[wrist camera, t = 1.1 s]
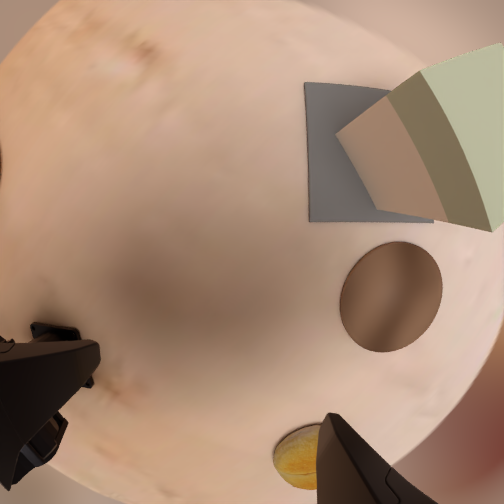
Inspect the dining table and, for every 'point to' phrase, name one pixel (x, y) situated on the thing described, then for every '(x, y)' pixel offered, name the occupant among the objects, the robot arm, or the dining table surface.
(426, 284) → the disc
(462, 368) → the dining table surface
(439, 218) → the carton
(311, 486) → the bread roll
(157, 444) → the dining table surface
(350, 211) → the mat
